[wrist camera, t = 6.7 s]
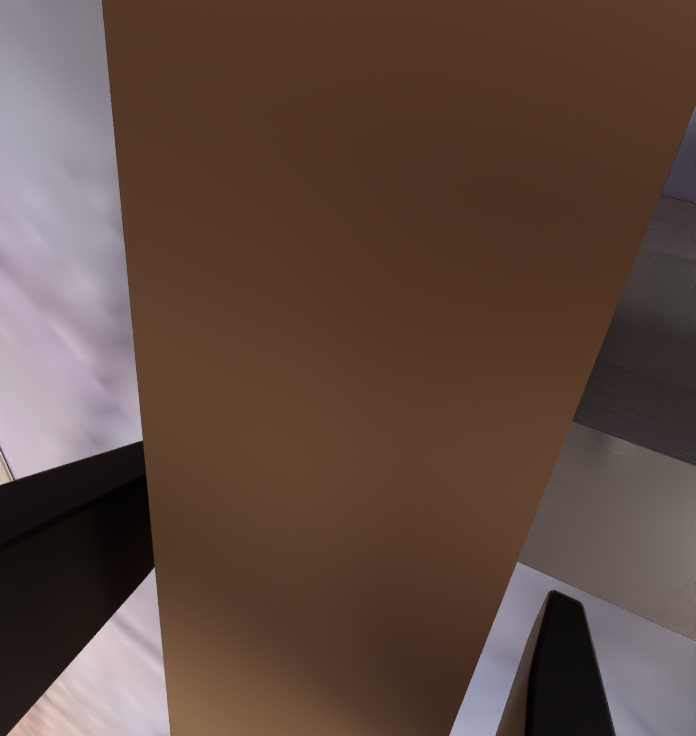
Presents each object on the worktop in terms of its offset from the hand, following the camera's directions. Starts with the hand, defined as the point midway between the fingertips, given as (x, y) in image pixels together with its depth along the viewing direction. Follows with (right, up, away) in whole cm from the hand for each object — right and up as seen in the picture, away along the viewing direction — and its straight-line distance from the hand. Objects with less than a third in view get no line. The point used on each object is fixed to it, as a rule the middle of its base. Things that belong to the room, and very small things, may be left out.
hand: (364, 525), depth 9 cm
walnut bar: (+1, +1, +2) cm, 2 cm away
